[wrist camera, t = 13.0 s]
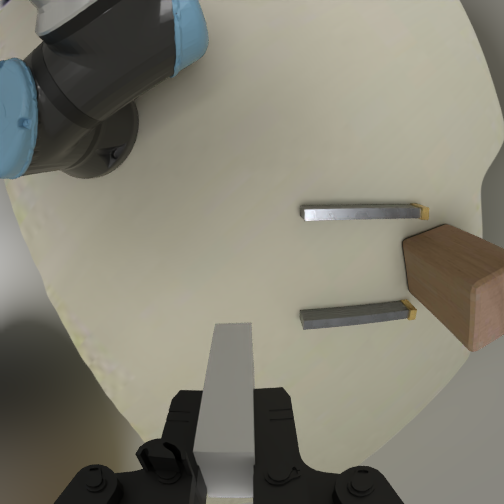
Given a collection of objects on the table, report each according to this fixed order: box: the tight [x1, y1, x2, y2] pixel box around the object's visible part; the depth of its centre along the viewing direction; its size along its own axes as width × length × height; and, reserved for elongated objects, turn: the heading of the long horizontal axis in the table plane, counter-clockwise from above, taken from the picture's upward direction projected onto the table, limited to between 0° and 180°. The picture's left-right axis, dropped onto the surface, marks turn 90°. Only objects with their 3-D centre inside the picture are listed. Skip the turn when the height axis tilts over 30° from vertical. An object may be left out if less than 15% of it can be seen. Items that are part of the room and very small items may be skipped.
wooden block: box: [403, 224, 504, 352], centre depth 37 cm, size 10×10×20 cm
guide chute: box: [300, 203, 429, 330], centre depth 44 cm, size 18×19×4 cm
